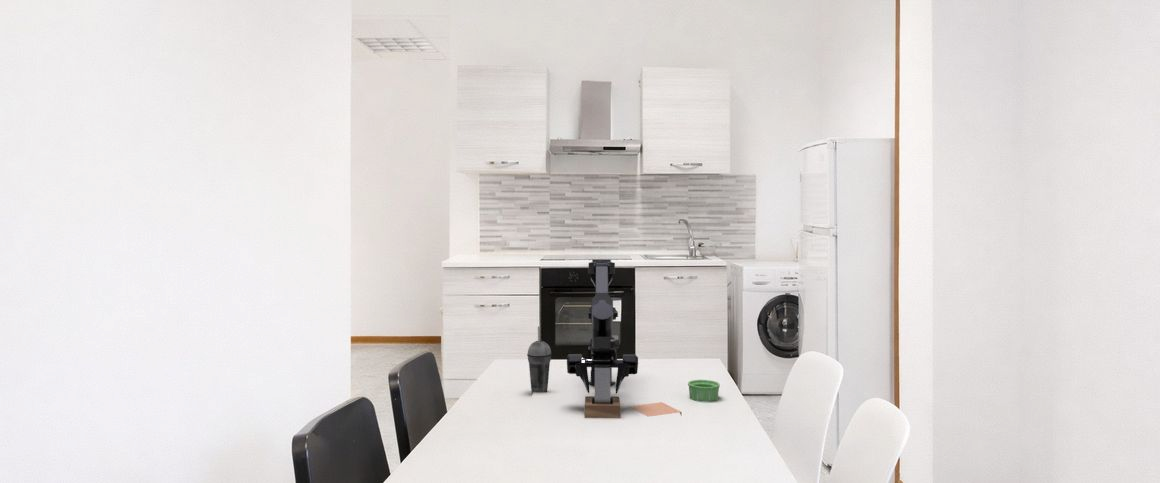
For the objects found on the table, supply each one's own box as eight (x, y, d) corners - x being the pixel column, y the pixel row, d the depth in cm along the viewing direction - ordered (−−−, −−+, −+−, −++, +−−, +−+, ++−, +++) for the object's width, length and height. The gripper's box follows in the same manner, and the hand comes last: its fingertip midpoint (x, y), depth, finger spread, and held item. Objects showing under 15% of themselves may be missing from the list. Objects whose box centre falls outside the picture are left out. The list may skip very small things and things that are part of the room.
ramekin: (684, 400, 177) (684, 385, 177) (691, 393, 185) (691, 378, 185) (716, 404, 173) (716, 388, 173) (722, 396, 182) (722, 381, 182)
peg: (594, 410, 163) (594, 364, 163) (609, 410, 163) (610, 364, 163) (594, 414, 159) (594, 367, 159) (610, 414, 159) (610, 368, 159)
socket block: (585, 411, 166) (585, 396, 166) (619, 411, 166) (619, 396, 166) (584, 421, 157) (584, 405, 157) (620, 421, 157) (620, 406, 157)
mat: (629, 409, 167) (629, 406, 167) (661, 405, 171) (661, 402, 171) (647, 420, 158) (647, 416, 158) (681, 415, 162) (681, 411, 162)
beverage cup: (553, 390, 187) (553, 324, 187) (549, 397, 180) (549, 328, 180) (529, 390, 188) (529, 323, 188) (524, 396, 181) (524, 327, 180)
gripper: (567, 324, 165) (565, 375, 154) (637, 324, 165) (640, 375, 154) (568, 348, 173) (566, 398, 162) (635, 348, 173) (638, 398, 162)
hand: (602, 392), depth 160 cm, fingers open, 7 cm apart
